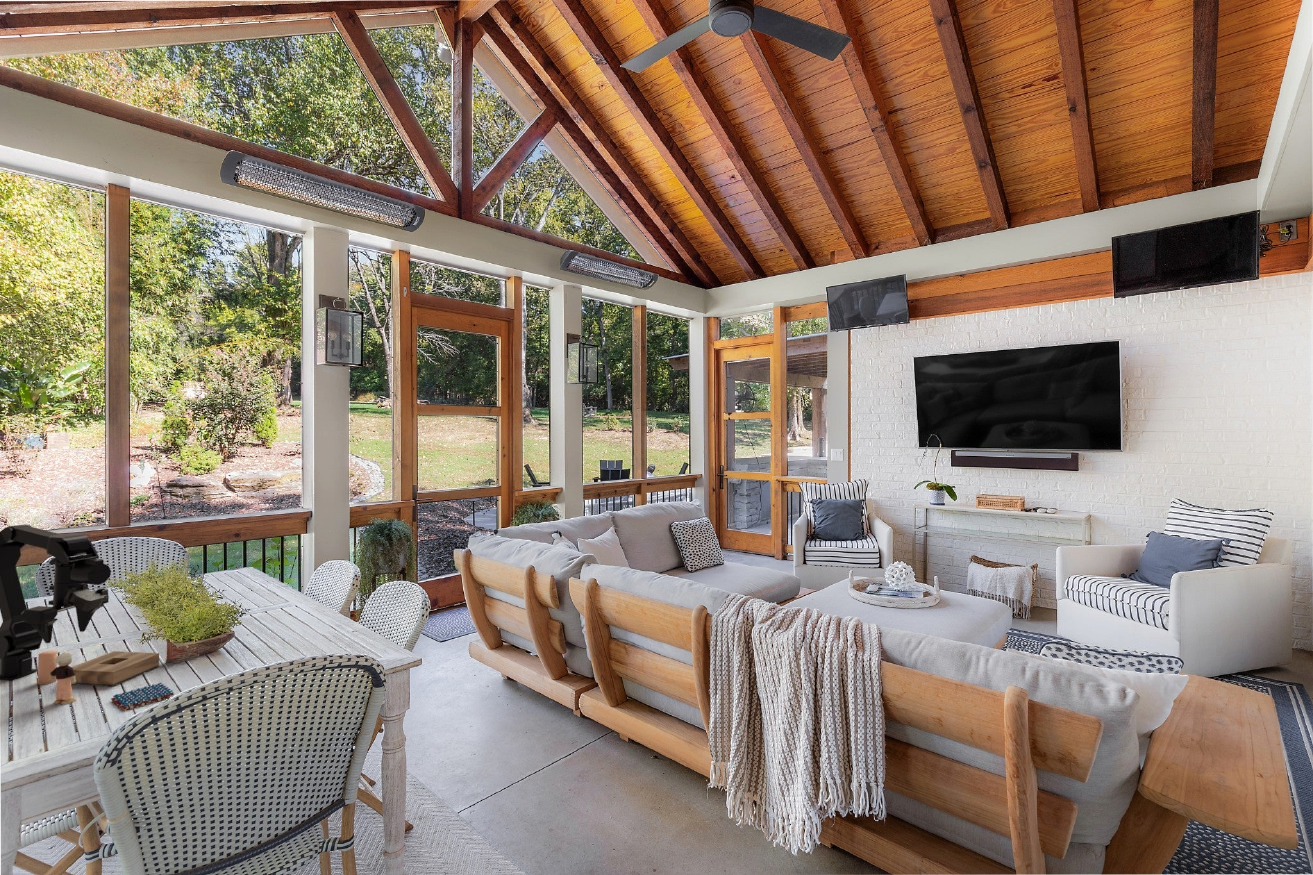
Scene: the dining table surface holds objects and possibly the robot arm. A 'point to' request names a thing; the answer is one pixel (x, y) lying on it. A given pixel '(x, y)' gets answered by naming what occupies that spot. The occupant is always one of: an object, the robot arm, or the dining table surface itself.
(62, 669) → the grandmother figurine
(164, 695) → the woven mat
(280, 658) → the dining table surface
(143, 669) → the bore block
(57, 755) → the dining table surface
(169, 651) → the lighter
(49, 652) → the peg
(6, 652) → the robot arm
